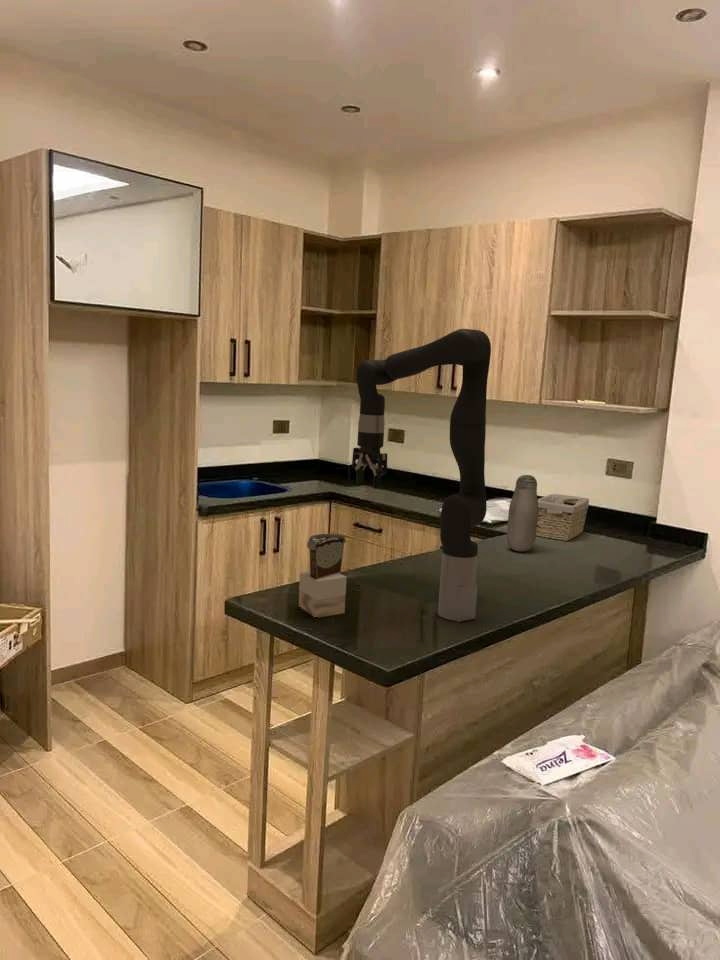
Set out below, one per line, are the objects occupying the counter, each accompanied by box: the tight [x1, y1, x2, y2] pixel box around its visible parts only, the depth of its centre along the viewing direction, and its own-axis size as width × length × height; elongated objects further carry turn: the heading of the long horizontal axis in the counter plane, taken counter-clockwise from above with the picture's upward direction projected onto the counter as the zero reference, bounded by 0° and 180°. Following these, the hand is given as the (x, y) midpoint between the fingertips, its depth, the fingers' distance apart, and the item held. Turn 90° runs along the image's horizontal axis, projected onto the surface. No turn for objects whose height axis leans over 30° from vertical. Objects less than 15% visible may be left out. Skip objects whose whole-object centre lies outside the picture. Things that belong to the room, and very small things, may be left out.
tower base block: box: [298, 589, 346, 618], centre depth 195 cm, size 9×9×5 cm
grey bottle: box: [506, 474, 539, 553], centre depth 266 cm, size 10×10×28 cm
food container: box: [306, 533, 347, 579], centre depth 194 cm, size 12×6×10 cm, turn 140°
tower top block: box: [298, 570, 348, 600], centre depth 194 cm, size 9×9×5 cm
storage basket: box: [536, 493, 590, 542], centre depth 296 cm, size 24×16×15 cm
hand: (368, 485), depth 213 cm, fingers open, 8 cm apart
